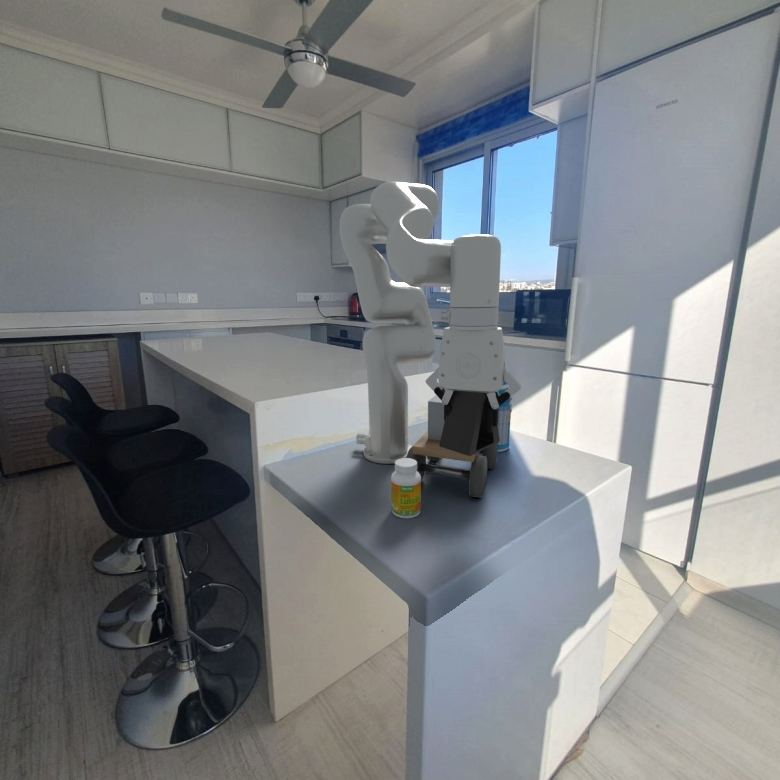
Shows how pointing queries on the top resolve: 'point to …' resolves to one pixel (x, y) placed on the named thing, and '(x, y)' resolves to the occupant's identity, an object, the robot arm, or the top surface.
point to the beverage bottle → (504, 421)
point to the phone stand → (468, 424)
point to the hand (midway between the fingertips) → (470, 426)
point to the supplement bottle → (406, 489)
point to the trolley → (450, 453)
